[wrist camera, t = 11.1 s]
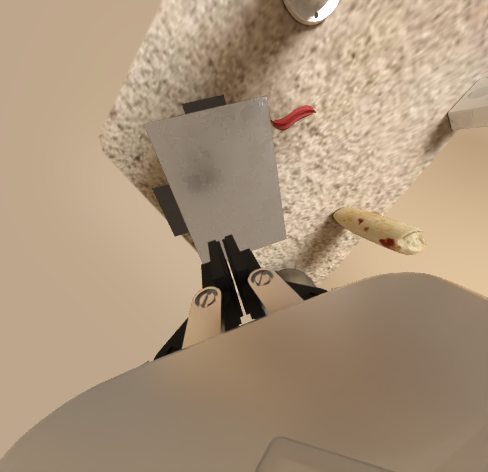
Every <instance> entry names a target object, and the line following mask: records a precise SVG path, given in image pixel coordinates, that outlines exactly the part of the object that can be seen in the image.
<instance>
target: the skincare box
mask: <svg viewBox="0 0 488 472" xmlns="http://www.w3.org/2000/svg"><path fill="white" fill-rule="evenodd" d="M448 116H449V120H450V124H451V128H452V130H459V129H469V128H479V127H488V77H487V78H483V79H479V80H478V81H477V82H476V83H475V84H474V85H473V86H472V87H471V88H470V89H469V91H468V92H467V93H466V94H465V95H464V96H463V97H462V98H461V99H460V100H459V101H458V102H457V103H456V105H455V106H454V107H453V108H452V109H451V110H450V111H449V112H448Z"/></svg>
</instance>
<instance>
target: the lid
mask: <svg viewBox="0 0 488 472" xmlns="http://www.w3.org/2000/svg"><path fill="white" fill-rule="evenodd" d="M144 126H145V128H146V131H147V133H148V136H149V138H150V140H151V143H152V145H153V147H154V150H155V152H156V154H157V157H158V159H159V162H160V164H161V166H162V169H163V171H164V173H165V176H166V178H167V180H168V183H167V184H163V185H160V186H156V187H153V188H152V189H153V191H154V193H155V195H156V198H157V200H158V202H159V204H160V206H161V208H162V210H163V212H164V214H165V217H166V219H167V221H168V223H169V225H170V227H171V229H172V231H173V233H174V236H178V235H181V234H185V233H188V232H190V235H191V237H192V240H193V242H194V244H195V247H196V249H197V251H198V254H199V256H200V258H201V261H202V263H203V264H204V263H207V262H210V256H209V249H208V242H210V241H213V240H216V242H217V241H220V244H221V247H222V250H223V253H224V256H225V259H226V260H227V259H228V258H227V255H226V251H225V248H224V245H223V242H222V240H223V239H225V238H224V237H225V236H228V235H231V234H232V235H233V237H234V240H235V242H236V244H237V246H238V248H239V250H240V251H243V250H245V249H248V248H249V249H250V250H251V251H253V250H256V249H259V248H262V247H264V246H267V245H270V244H273V243H276V242H279V241H282V240H285V239H286V231H285V224H284V217H283V210H282V202H281V195H280V188H279V181H278V173H277V166H276V159H275V151H274V144H273V137H272V130H271V122H270V115H269V108H268V101H267V96H263V97H259V98H254V99H250V100H246V101H241V102H237V103H233V104H228V105H224V106H220V107H215V108H211V109H207V110H202V111H198V112H194V113H189V114H185V115H181V116H176V117H172V118H168V119H163V120H159V121H155V122H150V123H146V124H144Z"/></svg>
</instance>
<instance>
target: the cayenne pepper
mask: <svg viewBox="0 0 488 472" xmlns="http://www.w3.org/2000/svg"><path fill="white" fill-rule="evenodd" d="M312 112H315V111H314V110H313V107H311V106H307V105H305V106H301V107H299V108H297V109H296V110H294V111H293V112H292V113H290V114H289V115H288V116H286V117H285V118H283V119H280V120H274V121H272V120H270V121H271V122H272V123H273V124H274V125H273V126H274V127H276V128H278V129H287V128H289V127H290V126H292V125H293V124H294V123H295V122H296V121H298V120H299V119H301V118H303V117H305V116H308V115H311V114H313V113H312ZM315 113H316V112H315Z"/></svg>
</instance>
